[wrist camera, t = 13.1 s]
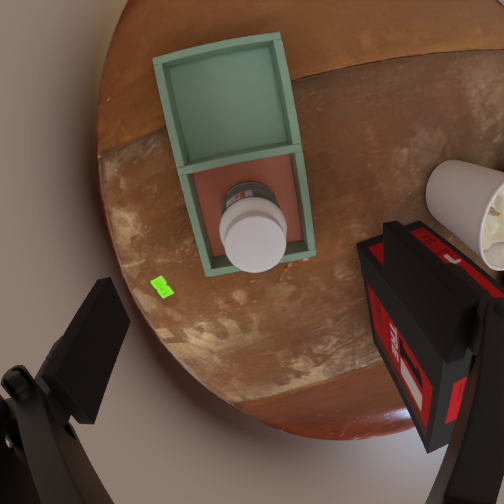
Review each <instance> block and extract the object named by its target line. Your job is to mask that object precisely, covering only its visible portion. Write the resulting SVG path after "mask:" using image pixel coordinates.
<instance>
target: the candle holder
mask: <svg viewBox="0 0 504 504" xmlns="http://www.w3.org/2000/svg"><path fill="white" fill-rule="evenodd" d="M426 204H427V207H428V210H429V212H430V213H431V215H432V216H433V217H434V218H435V219H436V220H437V221H438V222H439V223H440V224H441V225H443V226H444V227H445V228H446V229H447V230H449V231H450V232H451V233H452V234H453V235H454V236H456V237H457V238H458V239H459V240H460V241H461V242H463V243H464V244H465V245H466V246H467V247H468V248H469V249H470V250H472V251H473V252H474V253H475V254H476V255H477V256H478V257H479V258H480V259H481V260H482V261H483V262H484V263H485V264H486V265H487V266H488V267H489V268H491V269H493V270H497V271H501V270H504V172H501V171H498V170H495V169H491V168H488V167H484V166H480V165H477V164H473V163H469V162H465V161H461V160H447V161H444V162H442V163H441V164H439V165H438V166H437V167H436V168H435V169H434V171H433V172H432V174H431V175H430V177H429V180H428V183H427V186H426Z"/></svg>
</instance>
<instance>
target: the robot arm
mask: <svg viewBox="0 0 504 504" xmlns="http://www.w3.org/2000/svg"><path fill="white" fill-rule="evenodd" d="M383 275H384V276H385V277H386V279H387V280H388V281H389V283H390V284H391V285H392V287H393V288H394V289H395V291H396V292H397V293H398V295H399V296H400V297H401V299H402V300H403V302H404V303H405V304H406V306H407V307H408V308H409V310H410V311H411V313H412V314H413V315H414V317H415V318H416V320H417V321H418V322H419V324H420V325H421V327H422V328H423V330H424V331H425V333H426V334H427V335H428V337H429V338H430V340H431V341H432V343H433V344H434V346H435V347H436V349H437V350H438V352H439V353H440V355H441V356H442V358H443V359H444V361H445V362H446V364H447V365H449V364H451V363H454V362H456V361H459V360H461V359H464V356H465V353H466V350H467V347H468V348H469V349H470V350H471V352H472V353H473V354H472V357H471V360H470V363H469V365H468V368H467V371H466V374H468V375H467V379H466V384H465V388H464V392H463V396H462V400H461V404H460V408H459V412H458V415H457V419H456V422H455V426H454V429H453V432H452V435H451V438H450V442H449V445H448V448H447V451H446V453H445V456H444V459H443V462H442V464H441V467H440V470H439V472H438V475H437V477H436V480H435V482H434V484H433V487H432V489H431V491H430V494H429V496H428V498H427V500H426V503H425V504H496V501H497V497H498V494H499V490H500V487H501V483H502V480H503V476H504V297H496V298H494V297H493V296H492V295H491V294H490V293H489V292H488V291H487V290H486V289H485V288H484V287H483V286H482V285H481V284H480V283H479V282H478V281H477V280H476V281H475V279H474V278H473V277H472V276H471V275H469V273H468V272H467V271H466V270H465V269H464V268H462V267H461V266H459V265H457V264H454V263H452V262H450V263H447V264H446V263H445V262H443V261H442V260H441V259H440V258H439V257H438V256H437V255H436V254H435V253H434V252H432V251H431V250H430V249H429V248H428V247H427V246H426V245H425V244H424V243H422V242H421V241H420V240H419V239H418V238H417V237H416V236H414V235H413V234H412V233H411V232H410V231H409V230H407V229H406V228H405V227H404V226H403V225H401V224H400V223H399V222H398V221H392V222H387V223H383ZM130 322H131V321H130V319H129V317H128V315H127V313H126V311H125V309H124V306H123V304H122V302H121V300H120V298H119V295H118V293H117V291H116V289H115V287H114V284H113V282H112V279H111V277H108V278H104V279H98V280H97V281H96V283H95V285H94V286H93V288H92V289H91V291H90V292H89V294H88V295H87V297H86V299H85V300H84V302H83V303H82V305H81V307H80V308H79V310H78V311H77V313H76V314H75V316H74V318H73V320H72V321H71V323H70V325H69V326H68V328H67V330H66V331H65V333H64V335H63V336H61V337H60V338H59V339H58V340H57V341H56V342H55V343H54V345H53V346H52V348H51V350H50V352H49V354H48V355H47V357H46V360H45V361H44V362H43V364H42V366H41V368H40V370H39V372H38V373H37V375H36V377H35V379H33V378H32V376H31V375H30V373H29V372H28V370H27V369H26V368H25V366H23V365H17V366H14V367H12V368H11V369H10V370H8V371H7V372H6V373H5V374H4V376H3V378H2V380H1V385H2V387H3V388H4V389H5V390H6V392H7V393H8V394H9V395H10V396H11V398H9V399H5V400H4V398H3V397H2V396H1V395H0V504H114V502H113V501H112V499H111V498H110V496H109V494H108V493H107V491H106V490H105V488H104V486H103V484H102V482H101V481H100V479H99V477H98V475H97V474H96V472H95V470H94V468H93V466H92V465H91V463H90V461H89V459H88V457H87V455H86V453H85V451H84V449H83V447H82V445H81V443H80V441H79V438H78V436H77V435H76V432H75V430H74V428H73V426H72V425H71V424H70V423H69V419H70V416H71V415H72V416H73V417H74V419H75V420H76V421H77V422H78V423H79V424H94V423H95V420H96V417H97V414H98V411H99V407H100V404H101V402H102V398H103V396H104V393H105V390H106V387H107V384H108V381H109V378H110V375H111V372H112V370H113V367H114V364H115V362H116V359H117V356H118V354H119V351H120V348H121V345H122V343H123V340H124V338H125V335H126V332H127V330H128V328H129V325H130ZM5 438H6V439H7V440H8V441H9V442H10V447H8V446H7V444H6V440H5Z"/></svg>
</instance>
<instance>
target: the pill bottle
mask: <svg viewBox="0 0 504 504" xmlns="http://www.w3.org/2000/svg"><path fill="white" fill-rule="evenodd" d="M219 232H220V238H221V241H222V243H223V245H224V247H225V252H226V255H227V257H228V259H229V260H230V261H231V263H232V264H233V265H234V266H236V267H237V268H239V269H241V270H243V271H246V272H252V273H257V272H263V271H266V270H269V269H271V268H272V267H274V266H275V265H276V264H277V263H278V262H279V261H280V260H281V258H282V257H283V255H284V252H285V249H286V235H287V224H286V219H285V217H284V214H283V212H282V210H281V208H280V206H279V203H278V201H277V199H276V197H275V195H274V193H273V191H272V190H271V189H270V188H269V187H268V186H267V185H265V184H263V183H261V182H259V181H254V180H245V181H241V182H238V183H236V184H235V185H233V186H232V187H231V188H230V189H229V190H228V191H227V192H226V194H225V196H224V198H223V201H222V206H221V216H220V226H219Z"/></svg>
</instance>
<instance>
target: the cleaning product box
mask: <svg viewBox="0 0 504 504" xmlns="http://www.w3.org/2000/svg"><path fill="white" fill-rule="evenodd" d="M404 227H405V228H406V229H407V230H409V231H410V232H411V233H412V234H413V235H414V236H416V237H417V238H418V239H419V240H420V241H421V242H422V243H424V244H425V245H426V246H427V247H428V248H429V249H430V250H431V251H432V252H434V253H435V254H436V255H437V256H438V257H439V258H440V259H441V260H442V261H443V262H445V263H446V264H447V263H450V262H452V263H454V264H457V265H459V266H461V267H462V268H464V269H465V270H466V271H467V272H468V273H469V275H471V276H472V277H473V278H474V279H475V281H476V280H477V281H478V282H479V283H480V284H481V285H482V286H483V287H484V288H485V289H486V290H487V291H488V292H489V293H490V294H491V295H492V296H493V297H494V298H496V297H504V288H503V287H502V286H501V285H500V284H499V283H497V282H496V281H495V280H494V279H493V278H492V277H491V276H489V275H488V274H487V273H486V272H485V271H484V270H482V269H481V268H480V267H479V266H478V265H476V264H475V263H474V262H473V261H472V260H470V259H469V258H468V257H467V256H465V255H464V254H463V253H462V252H460V251H459V250H458V249H457V248H455V247H454V246H453V245H452V244H450V243H449V242H448V241H446V240H445V239H444V238H442V237H441V236H440V235H439V234H437V233H436V232H435V231H433V230H432V229H431V228H429V227H428V226H426V225H425V224H424V223H422V222H421V221H418V222H415V223H412V224H410V225H407V226H404ZM356 245H357V249H358V254H359V259H360V264H361V269H362V274H363V279H364V285H365V290H366V296H367V301H368V307H369V313H370V319H371V326H372V332H373V339H374V343H375V345H376V347H377V349H378V351H379V353H380V355H381V357H382V359H383V361H384V363H385V365H386V367H387V369H388V370H389V373H390V375H391V377H392V379H393V381H394V383H395V385H396V387H397V389H398V391H399V393H400V395H401V397H402V399H403V401H404V403H405V405H406V408H407V410H408V412H409V414H410V416H411V418H412V420H413V423H414V425H415V427H416V429H417V431H418V433H419V436H420V438H421V440H422V442H423V444H424V447H425V449H426V451H427V453H430V452H432V451H434V450H437V449H438V448H441V447H443V446H445V445H447V444H449V442H450V438H451V435H452V432H453V429H454V426H455V422H456V419H457V415H458V412H459V408H460V404H461V400H462V396H463V392H464V388H465V384H466V379H467V375H468V374H466V371H467V368H468V365H469V363H470V360H471V357H472V354H473V353H472V352H471V350H470V349H469V348H468V347H467V350H466V353H465V356H464V359H461V360H459V361H456V362H454V363H451V364H449V365H447V364H446V362H445V361H444V359H443V358H442V356H441V355H440V353H439V352H438V350H437V349H436V347H435V346H434V344H433V343H432V341H431V340H430V338H429V337H428V335H427V334H426V333H425V331H424V330H423V328H422V327H421V325H420V324H419V322H418V321H417V320H416V318H415V317H414V315H413V314H412V313H411V311H410V310H409V308H408V307H407V306H406V304H405V303H404V302H403V300H402V299H401V297H400V296H399V295H398V293H397V292H396V291H395V289H394V288H393V287H392V285H391V284H390V283H389V281H388V280H387V279H386V277H385V276H384V275H383V234H382V235H379V236H377V237H374V238H371V239H368V240H366V241H363V242H360V243H357V244H356Z"/></svg>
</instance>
